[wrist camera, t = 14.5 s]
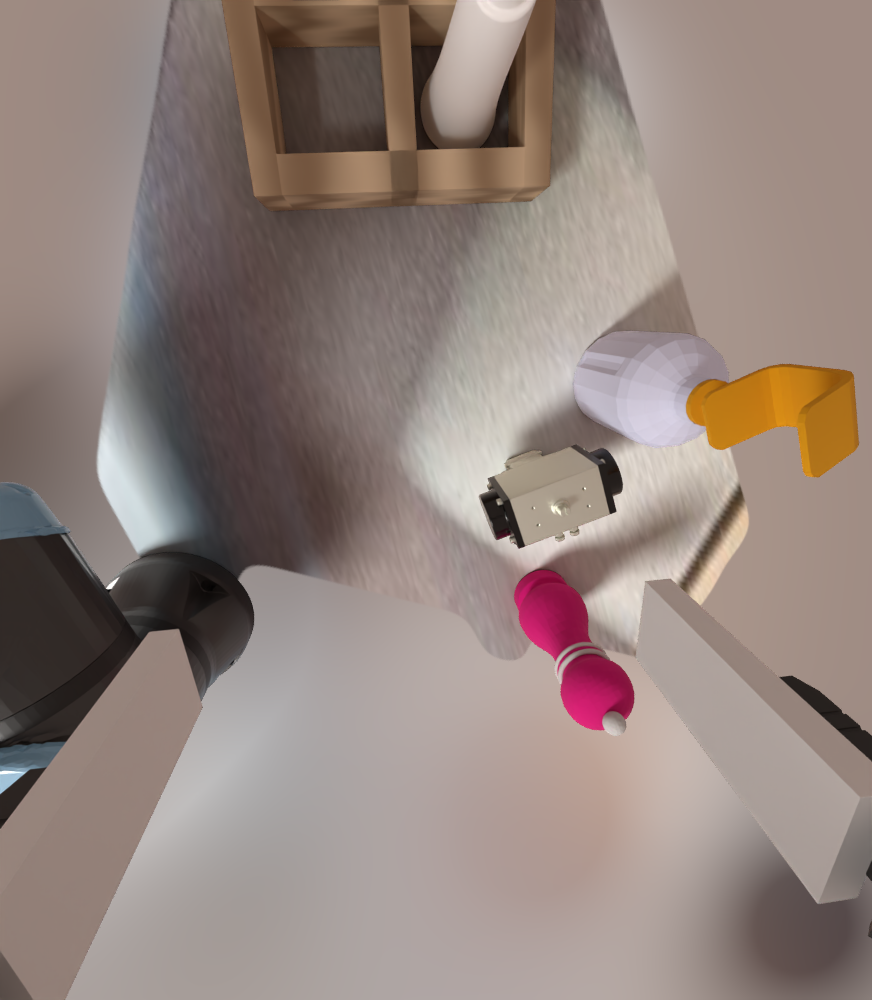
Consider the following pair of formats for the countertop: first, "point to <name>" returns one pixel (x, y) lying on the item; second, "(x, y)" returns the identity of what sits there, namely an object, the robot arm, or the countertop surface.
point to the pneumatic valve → (551, 494)
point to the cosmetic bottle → (472, 71)
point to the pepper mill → (574, 652)
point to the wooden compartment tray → (386, 108)
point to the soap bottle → (712, 397)
